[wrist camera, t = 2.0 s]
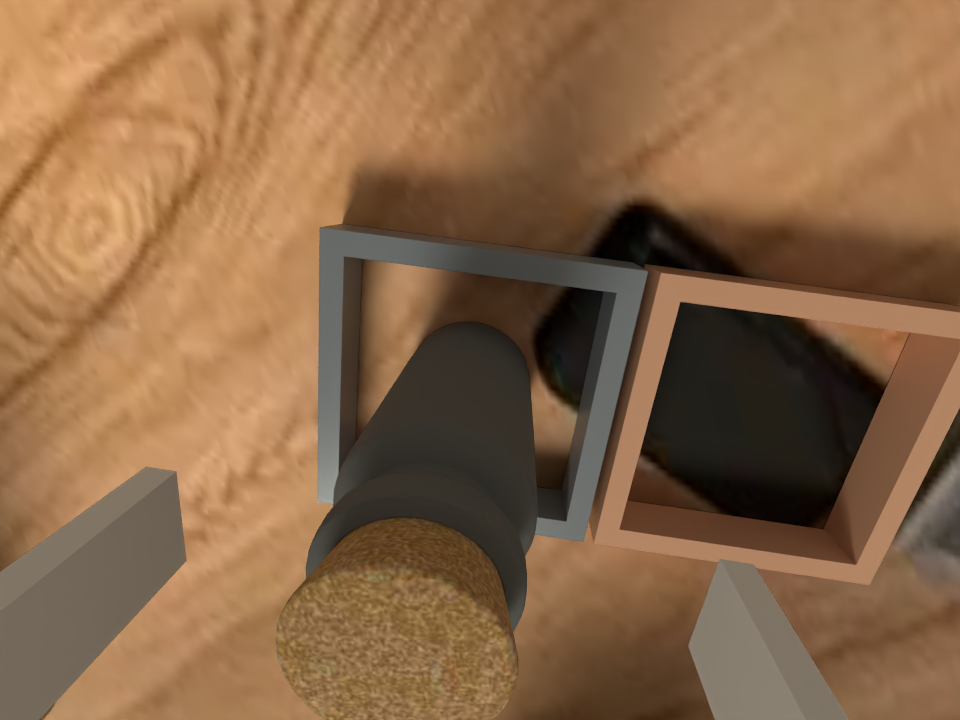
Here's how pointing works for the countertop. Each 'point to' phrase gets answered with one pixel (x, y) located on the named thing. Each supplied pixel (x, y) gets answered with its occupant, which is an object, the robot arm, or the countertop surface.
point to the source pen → (617, 279)
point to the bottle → (424, 545)
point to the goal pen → (876, 468)
